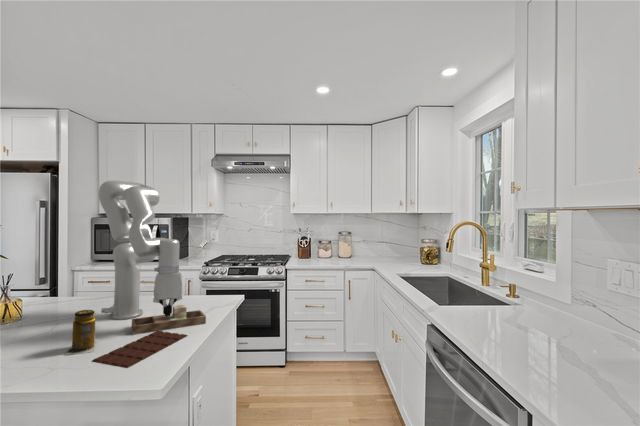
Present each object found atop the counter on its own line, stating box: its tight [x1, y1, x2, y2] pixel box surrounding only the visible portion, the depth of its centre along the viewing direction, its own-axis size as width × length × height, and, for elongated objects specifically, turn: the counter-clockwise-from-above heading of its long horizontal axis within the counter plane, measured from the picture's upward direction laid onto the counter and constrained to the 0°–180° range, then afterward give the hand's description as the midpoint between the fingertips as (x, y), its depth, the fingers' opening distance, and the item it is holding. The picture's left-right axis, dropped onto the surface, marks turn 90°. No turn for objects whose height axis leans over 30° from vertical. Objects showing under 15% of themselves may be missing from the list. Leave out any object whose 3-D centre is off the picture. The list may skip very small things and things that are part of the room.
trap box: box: [131, 309, 207, 335], centre depth 132 cm, size 26×10×3 cm, turn 123°
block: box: [172, 304, 188, 319], centre depth 133 cm, size 4×4×4 cm
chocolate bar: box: [91, 330, 188, 369], centre depth 110 cm, size 27×14×1 cm, turn 165°
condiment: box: [65, 309, 98, 356], centre depth 107 cm, size 7×8×12 cm
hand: (167, 315), depth 131 cm, fingers closed
